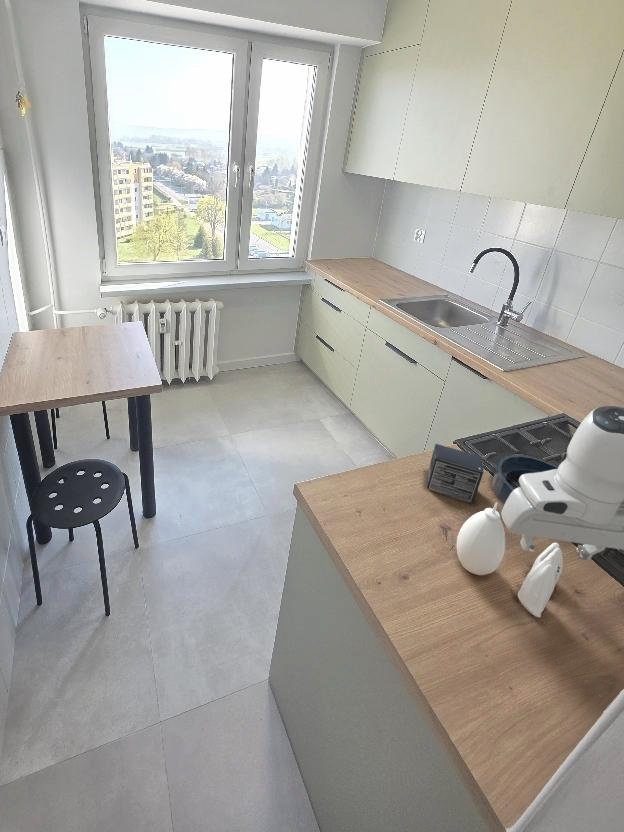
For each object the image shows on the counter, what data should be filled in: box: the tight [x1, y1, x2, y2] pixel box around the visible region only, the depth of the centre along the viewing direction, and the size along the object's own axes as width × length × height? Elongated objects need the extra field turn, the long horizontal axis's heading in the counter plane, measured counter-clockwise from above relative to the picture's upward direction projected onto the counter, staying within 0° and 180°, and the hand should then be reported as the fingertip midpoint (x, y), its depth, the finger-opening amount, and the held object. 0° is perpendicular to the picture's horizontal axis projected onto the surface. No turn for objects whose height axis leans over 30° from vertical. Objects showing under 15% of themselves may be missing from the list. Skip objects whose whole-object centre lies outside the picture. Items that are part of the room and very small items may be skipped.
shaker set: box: [517, 542, 564, 618], centre depth 78 cm, size 12×4×11 cm, turn 131°
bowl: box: [491, 454, 559, 506], centre depth 100 cm, size 18×18×6 cm
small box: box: [426, 443, 485, 504], centre depth 101 cm, size 11×6×10 cm, turn 66°
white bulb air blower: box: [456, 501, 506, 576], centre depth 81 cm, size 8×8×18 cm
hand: (553, 552), depth 75 cm, fingers open, 8 cm apart
